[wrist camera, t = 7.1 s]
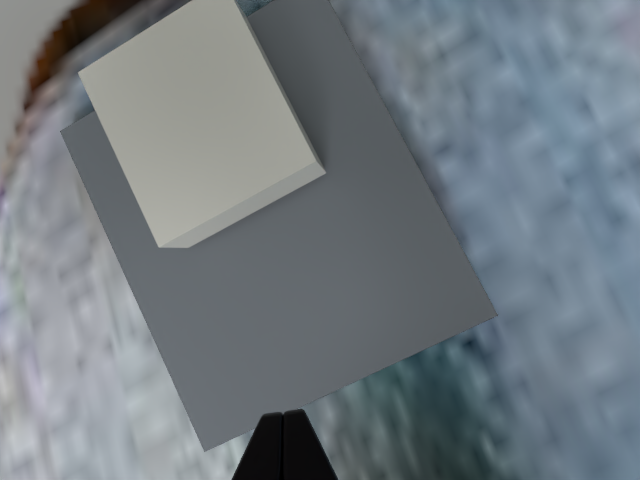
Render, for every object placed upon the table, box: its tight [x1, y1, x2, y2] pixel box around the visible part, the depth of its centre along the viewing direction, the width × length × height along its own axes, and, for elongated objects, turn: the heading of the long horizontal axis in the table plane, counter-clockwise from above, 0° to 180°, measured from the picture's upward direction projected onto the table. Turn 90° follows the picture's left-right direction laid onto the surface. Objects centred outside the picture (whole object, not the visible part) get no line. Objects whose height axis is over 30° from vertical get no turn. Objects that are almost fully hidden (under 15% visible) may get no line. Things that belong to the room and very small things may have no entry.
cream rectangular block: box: [78, 0, 326, 248], centre depth 18 cm, size 3×7×8 cm
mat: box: [60, 0, 498, 452], centre depth 20 cm, size 16×14×1 cm
